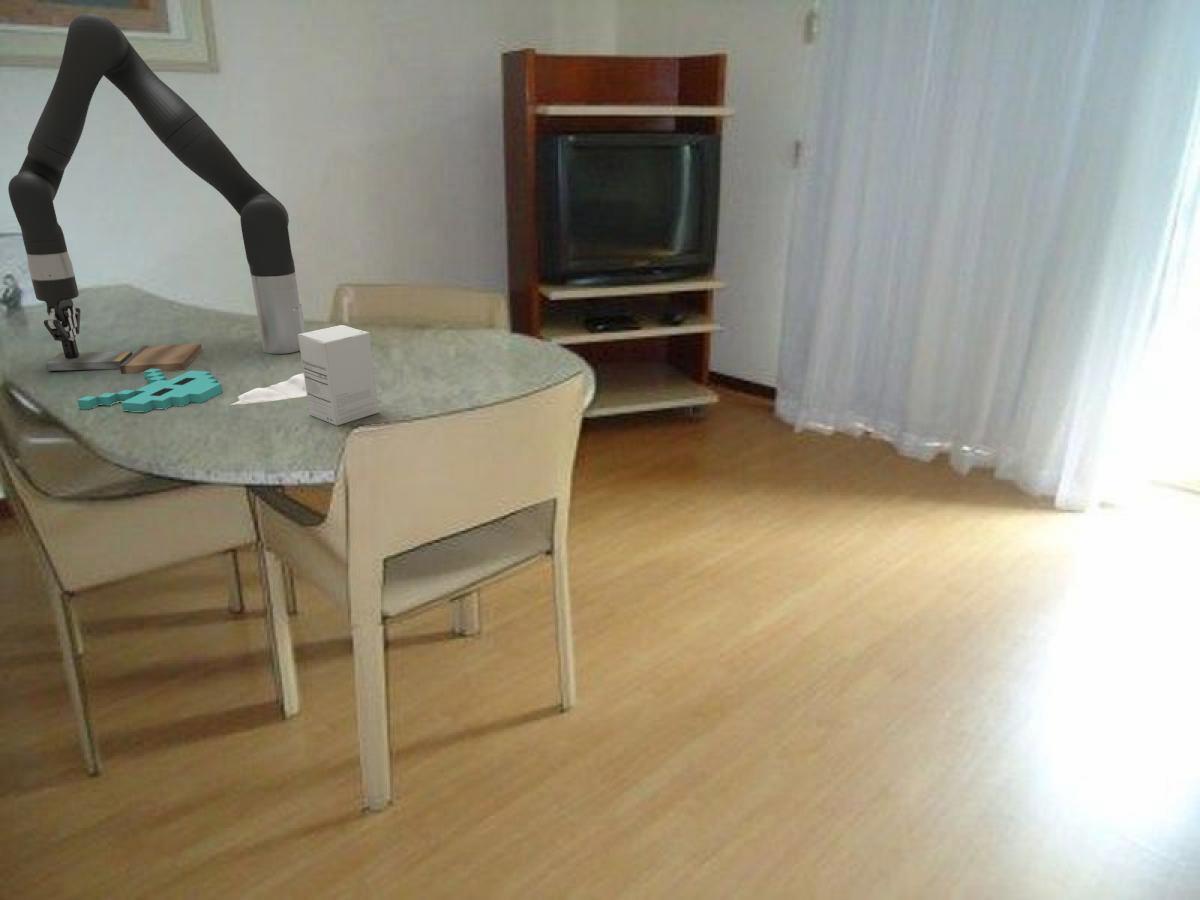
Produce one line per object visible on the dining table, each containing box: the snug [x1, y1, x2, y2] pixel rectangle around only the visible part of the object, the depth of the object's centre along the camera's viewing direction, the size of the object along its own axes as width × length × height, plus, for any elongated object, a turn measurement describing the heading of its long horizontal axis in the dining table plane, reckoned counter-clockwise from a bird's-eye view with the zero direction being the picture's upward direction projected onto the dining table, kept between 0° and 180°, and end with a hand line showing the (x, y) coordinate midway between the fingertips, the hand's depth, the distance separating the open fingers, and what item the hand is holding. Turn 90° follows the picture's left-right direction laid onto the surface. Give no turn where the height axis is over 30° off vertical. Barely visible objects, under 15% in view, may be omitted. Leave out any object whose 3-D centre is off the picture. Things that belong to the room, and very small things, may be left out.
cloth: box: [230, 372, 307, 406], centre depth 161 cm, size 26×14×2 cm, turn 137°
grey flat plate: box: [45, 350, 134, 372], centre depth 175 cm, size 14×8×2 cm, turn 101°
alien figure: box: [77, 369, 223, 412], centre depth 157 cm, size 20×2×20 cm
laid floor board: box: [119, 343, 203, 375], centre depth 178 cm, size 12×16×2 cm
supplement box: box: [298, 324, 380, 427], centre depth 145 cm, size 9×9×15 cm
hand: (72, 357), depth 174 cm, fingers closed
